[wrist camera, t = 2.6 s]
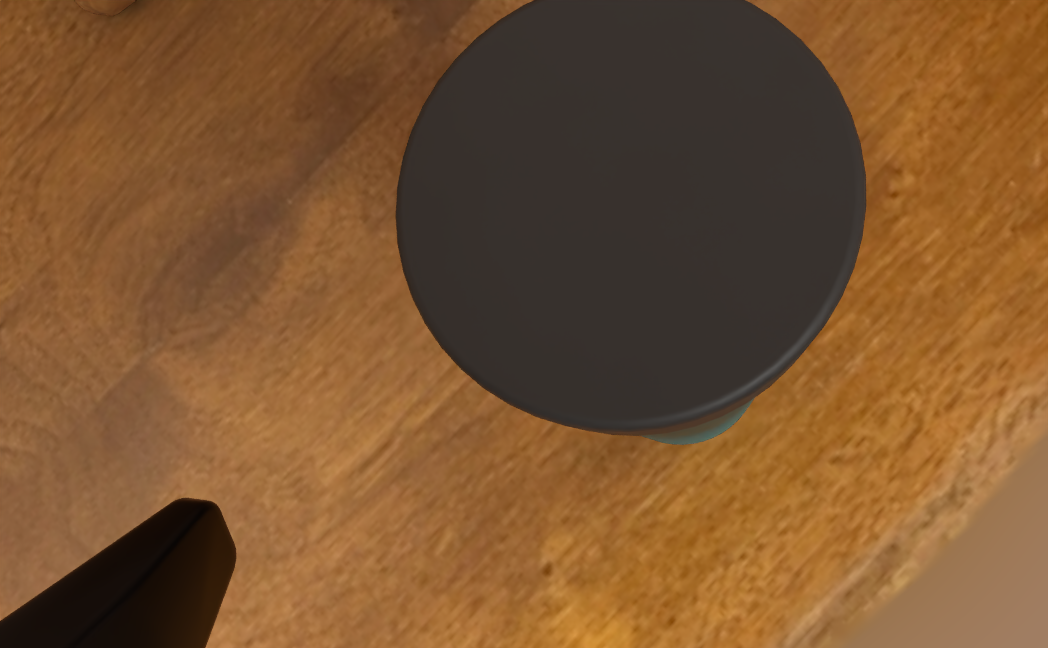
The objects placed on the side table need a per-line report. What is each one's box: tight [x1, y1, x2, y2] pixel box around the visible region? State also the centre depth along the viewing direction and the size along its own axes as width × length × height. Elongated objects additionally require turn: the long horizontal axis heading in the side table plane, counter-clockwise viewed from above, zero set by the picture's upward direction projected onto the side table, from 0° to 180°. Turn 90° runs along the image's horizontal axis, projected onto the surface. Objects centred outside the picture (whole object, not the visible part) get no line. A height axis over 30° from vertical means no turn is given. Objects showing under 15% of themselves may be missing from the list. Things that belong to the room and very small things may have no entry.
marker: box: [396, 0, 866, 445], centre depth 13 cm, size 3×3×14 cm
